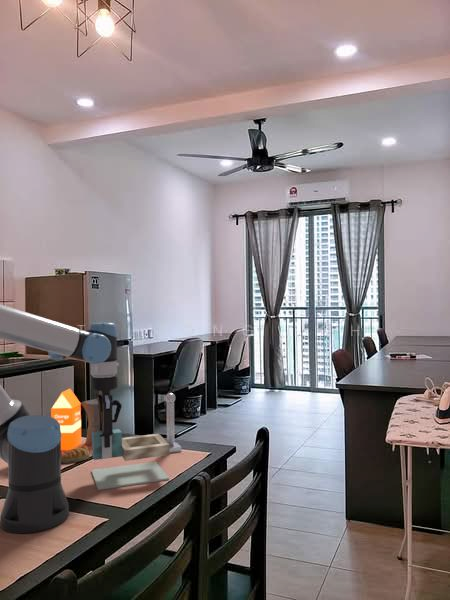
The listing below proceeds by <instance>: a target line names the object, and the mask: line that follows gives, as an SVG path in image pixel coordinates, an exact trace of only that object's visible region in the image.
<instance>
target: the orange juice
mask: <svg viewBox="0 0 450 600" xmlns="http://www.w3.org/2000/svg"><path fill="white" fill-rule="evenodd" d="M81 407H82V404H81V402H80V401H79V399H78V397H77V395H75V393H74V392H73V391H72V389H71V388H68V389H66V390H64V391H62V392H61V393H60V395H59V396H58V398H57V400H56V401H55V402H54V404H53V406H52V407H51V408H50V412H51V413H50V414H51V415H50V417H52V418H54V419H56V420H57V421H58V422H59V424H60V431H61V451H70V450H71V449H74V448H78V446H79V445H80V444H82V414H81V411H82V408H81Z"/></svg>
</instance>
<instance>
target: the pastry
mask: <svg viewBox="0 0 450 600" xmlns="http://www.w3.org/2000/svg"><path fill="white" fill-rule="evenodd" d="M90 457H91V455H90V451H89V448H88V447H87V446H86V445H85V446H80V447H76V448H74V449H71V450H67V452H64V453H63V454H61V463H64V464H70V463H77V462H81V461H86V460H89V459H90Z"/></svg>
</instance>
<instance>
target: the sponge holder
mask: <svg viewBox="0 0 450 600" xmlns="http://www.w3.org/2000/svg"><path fill="white" fill-rule="evenodd" d="M112 431H113V434H112V458H120V457H122V459H123V460H124V462H127V461H134V460H136V461H137V460H142V459H150V458H157V457H165V456H170V454H171V453H170V445H169V444H168V443H167V440H166V439H164V437H163V436H162V435H161V434H160V433H152V434H146V435H145V434H144V435H134V436H125V437H123V432H122V431H121V429H120V428H117V429H115V428H114V429H112ZM101 434H102V431H97V432H92V446H91V451H92V453H91V455H92V459H93V460H94V461H97V460H103V459H102V437H100V435H101ZM112 458H111V459H112Z"/></svg>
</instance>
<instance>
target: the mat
mask: <svg viewBox="0 0 450 600" xmlns="http://www.w3.org/2000/svg"><path fill="white" fill-rule="evenodd" d="M90 472H91V474H92V477H93V480H94V482H95V485H96V488H97V491H102V490H107V489H108V490H110V489H114V488H123V487H128V486H135V485H143V484H149V483H155V482H162V481H163V482H165V481H169V480H170V477H169V475H167V474H166V472H165V471H164V470H163V468H162V467H161V466H160V465H159V463H158V462H157V461H150V462H141V463H133V464H126V465H118V466H111V467H103V468H102V467H101V468H97V469H95V468H94V469H91V471H90Z"/></svg>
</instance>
